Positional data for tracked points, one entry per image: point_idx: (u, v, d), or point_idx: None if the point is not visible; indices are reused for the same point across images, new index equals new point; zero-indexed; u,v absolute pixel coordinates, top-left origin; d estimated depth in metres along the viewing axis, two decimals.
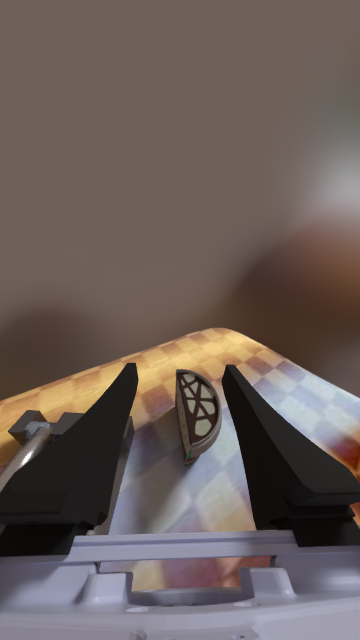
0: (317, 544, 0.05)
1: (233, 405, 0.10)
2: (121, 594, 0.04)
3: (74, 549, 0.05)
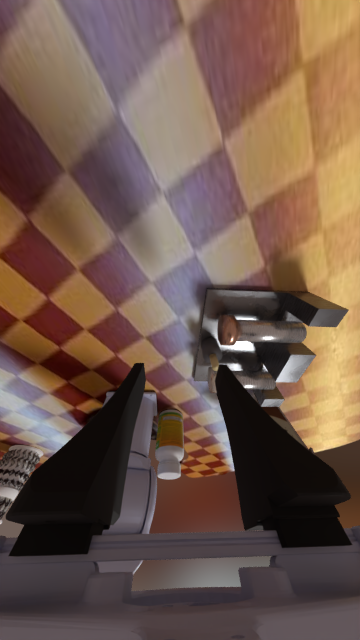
0: (317, 544, 0.05)
1: (225, 405, 0.10)
2: (121, 594, 0.04)
3: (74, 549, 0.05)
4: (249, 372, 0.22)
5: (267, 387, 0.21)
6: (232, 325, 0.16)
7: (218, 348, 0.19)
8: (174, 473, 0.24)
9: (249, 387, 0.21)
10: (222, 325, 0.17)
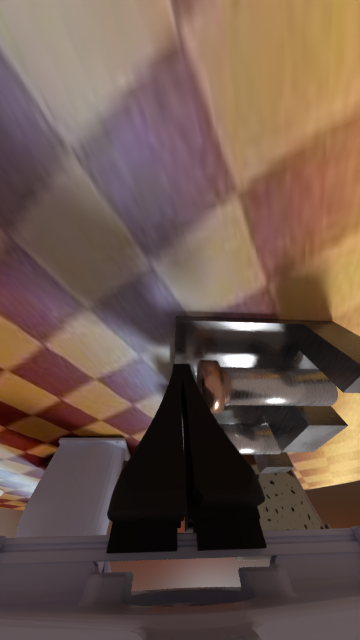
0: (317, 544, 0.05)
1: (182, 405, 0.10)
2: (121, 594, 0.04)
3: (74, 548, 0.05)
4: (244, 428, 0.15)
5: (269, 453, 0.15)
6: (215, 386, 0.09)
7: None
8: None
9: (243, 453, 0.15)
10: (201, 378, 0.11)
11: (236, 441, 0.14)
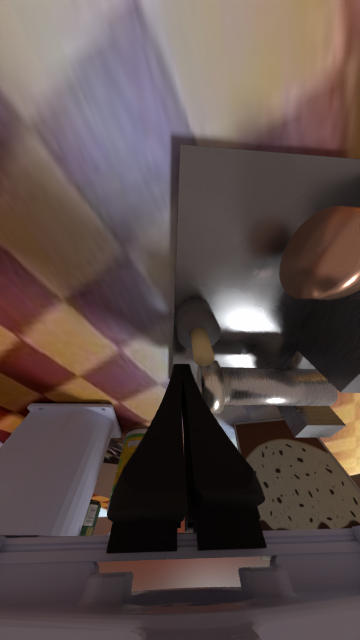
0: (317, 544, 0.05)
1: (182, 404, 0.10)
2: (121, 594, 0.04)
3: (74, 549, 0.05)
4: (279, 371, 0.11)
5: (319, 402, 0.10)
6: None
7: (211, 315, 0.09)
8: None
9: (281, 402, 0.10)
10: (313, 243, 0.06)
11: (271, 384, 0.10)
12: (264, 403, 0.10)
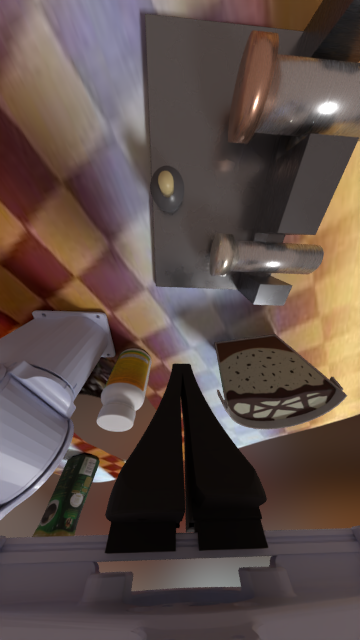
0: (317, 544, 0.05)
1: (183, 405, 0.10)
2: (121, 594, 0.04)
3: (74, 549, 0.05)
4: None
5: (309, 261, 0.13)
6: (265, 32, 0.07)
7: None
8: (120, 417, 0.16)
9: (279, 260, 0.13)
10: (240, 82, 0.09)
11: (271, 245, 0.12)
12: (265, 261, 0.13)
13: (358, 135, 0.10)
